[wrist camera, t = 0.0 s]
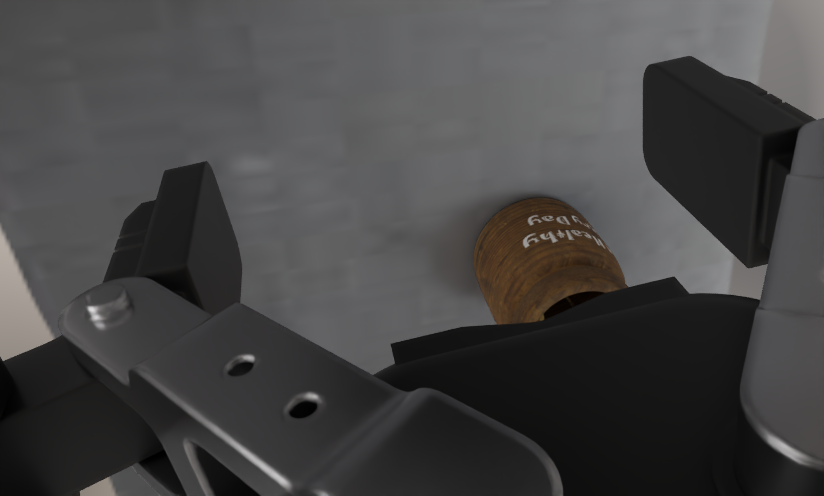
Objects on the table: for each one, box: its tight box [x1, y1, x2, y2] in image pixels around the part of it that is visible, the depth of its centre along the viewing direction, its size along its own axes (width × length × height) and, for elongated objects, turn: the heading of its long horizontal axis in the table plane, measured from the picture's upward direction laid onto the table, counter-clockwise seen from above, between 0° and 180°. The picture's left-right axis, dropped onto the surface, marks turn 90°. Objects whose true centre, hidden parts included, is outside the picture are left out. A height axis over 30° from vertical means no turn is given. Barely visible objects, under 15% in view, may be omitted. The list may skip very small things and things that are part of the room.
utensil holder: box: [474, 198, 628, 325], centre depth 31 cm, size 6×6×12 cm
